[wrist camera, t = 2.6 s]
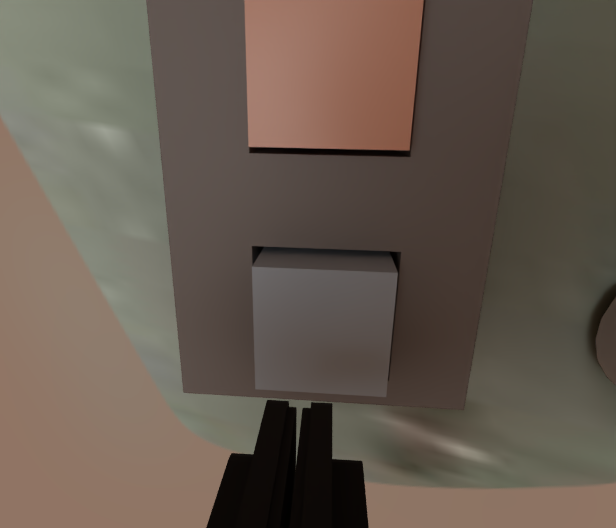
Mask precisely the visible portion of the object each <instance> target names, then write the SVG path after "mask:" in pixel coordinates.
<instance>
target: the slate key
mask: <svg viewBox="0 0 616 528" xmlns="http://www.w3.org/2000/svg"><path fill="white" fill-rule="evenodd" d="M397 277H398V272H397V269H396V267H395V264H394V262H393V259H392V257H391V254H390V251H368V250H342V249H316V248H290V247H264V248H263V250H262V251H261V253H260V254H259V256H258V258H257V259H256V261H255V263H254V264H253V266H252V290H253V325H254V361H255V389H259V390H276V391H293V392H309V393H326V394H342V395H359V396H375V397H386V394H387V383H388V372H389V362H390V351H391V341H392V330H393V320H394V309H395V298H396V288H397Z"/></svg>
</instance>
